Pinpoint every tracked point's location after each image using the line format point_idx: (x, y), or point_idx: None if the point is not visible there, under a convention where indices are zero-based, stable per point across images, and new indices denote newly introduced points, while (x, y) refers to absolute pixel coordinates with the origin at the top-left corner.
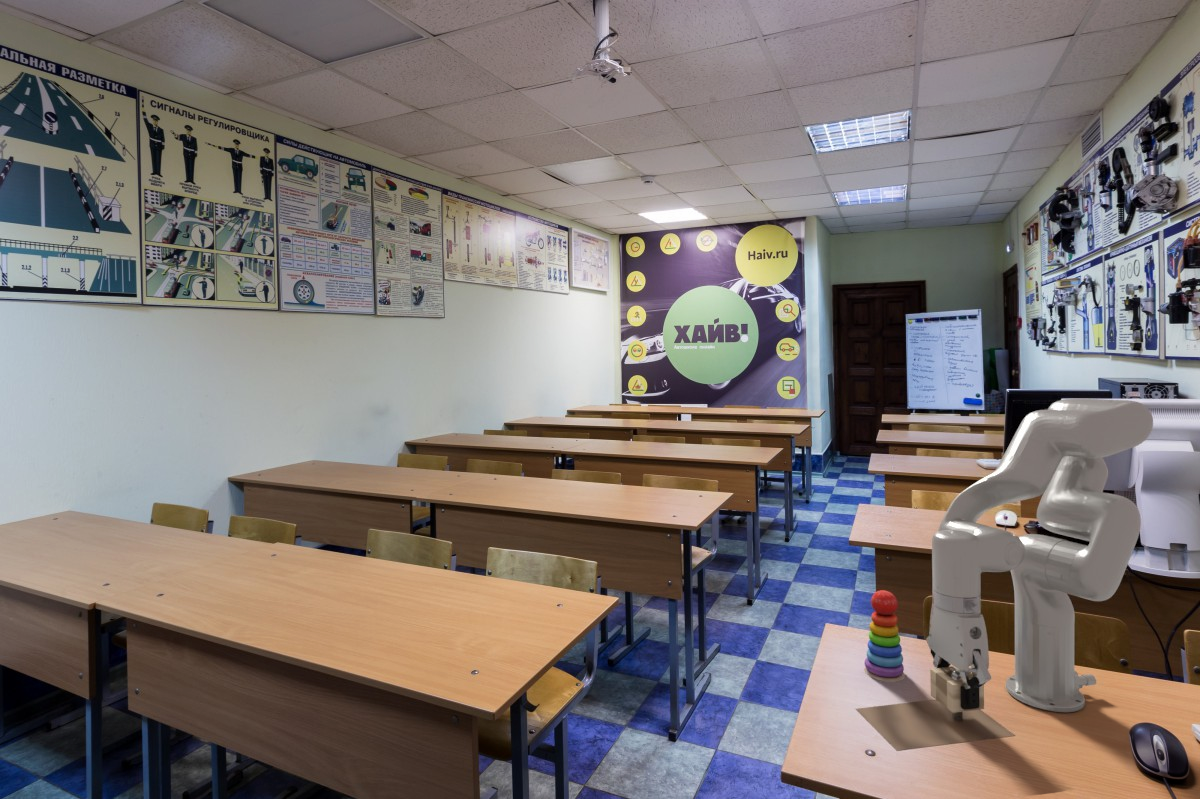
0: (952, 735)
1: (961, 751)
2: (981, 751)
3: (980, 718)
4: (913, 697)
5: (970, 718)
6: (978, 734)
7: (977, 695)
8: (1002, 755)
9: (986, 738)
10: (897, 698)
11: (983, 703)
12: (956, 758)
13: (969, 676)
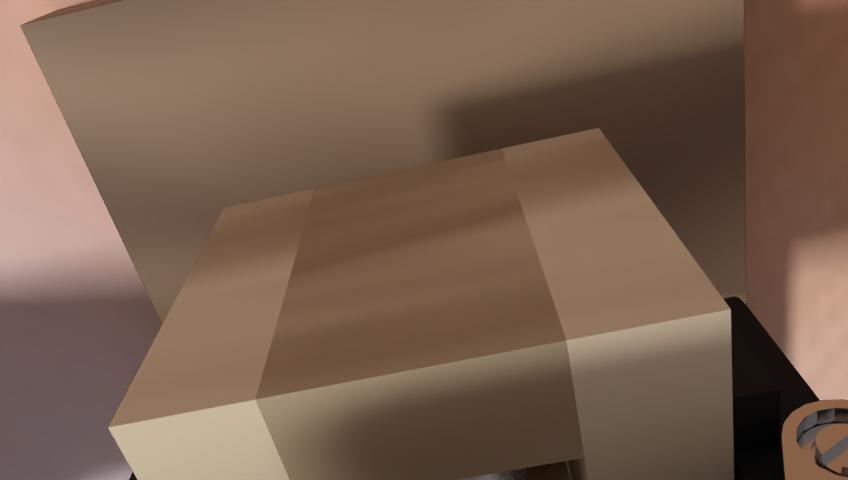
0: None
1: None
2: (748, 181)
3: (438, 48)
4: (44, 344)
5: (435, 134)
6: (672, 180)
7: (788, 368)
8: (825, 57)
9: (734, 145)
10: (88, 439)
11: (616, 158)
12: (784, 354)
13: (523, 442)
